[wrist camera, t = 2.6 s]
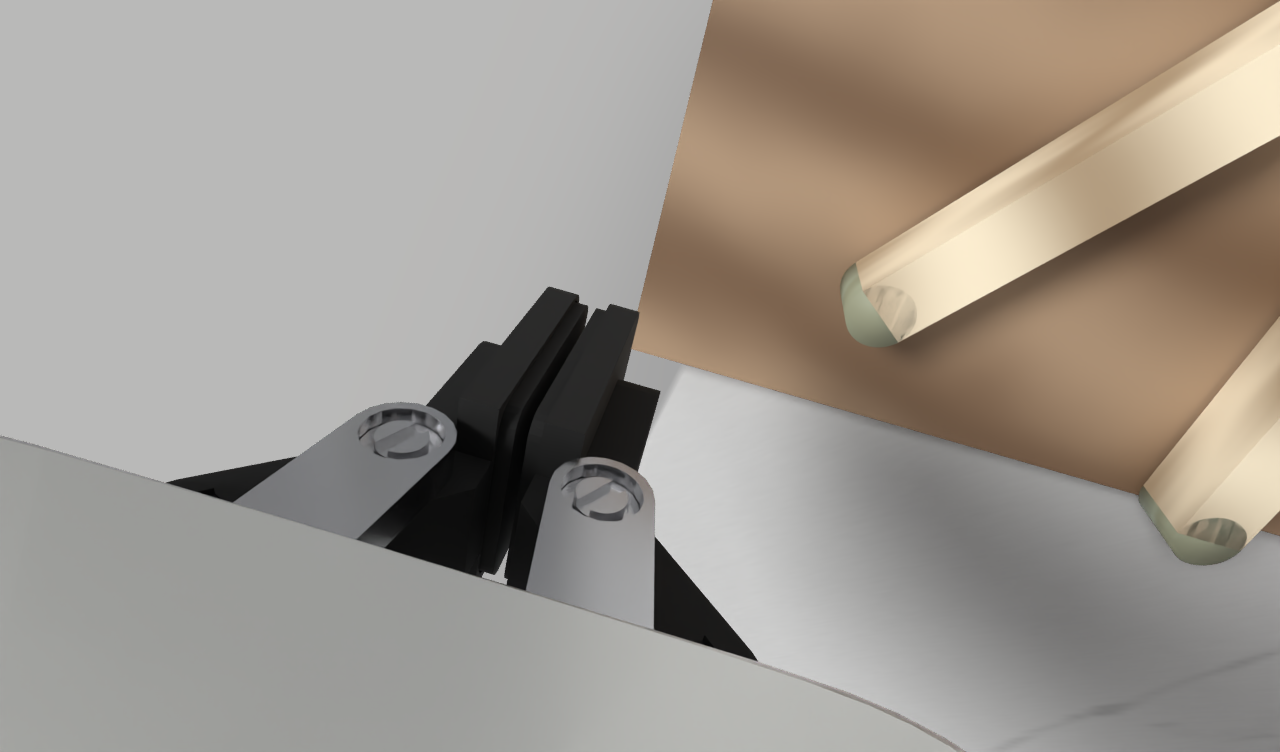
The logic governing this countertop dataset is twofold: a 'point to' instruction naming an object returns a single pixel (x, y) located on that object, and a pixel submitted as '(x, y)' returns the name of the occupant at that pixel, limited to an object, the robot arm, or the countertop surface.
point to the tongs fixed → (1224, 466)
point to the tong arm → (1074, 186)
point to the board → (931, 180)
